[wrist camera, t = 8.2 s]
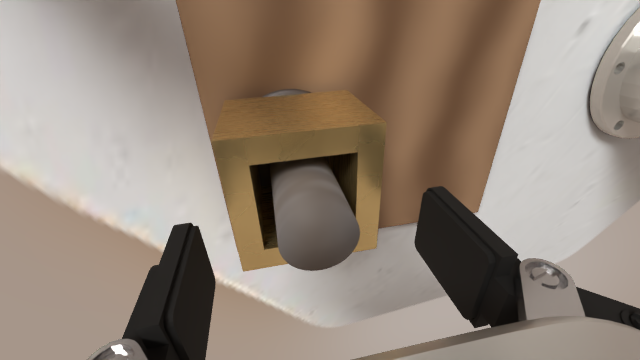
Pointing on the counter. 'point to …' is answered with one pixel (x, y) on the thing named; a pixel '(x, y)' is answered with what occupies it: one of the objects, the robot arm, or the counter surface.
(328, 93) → the brass collar
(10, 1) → the counter surface
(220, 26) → the shaft board
